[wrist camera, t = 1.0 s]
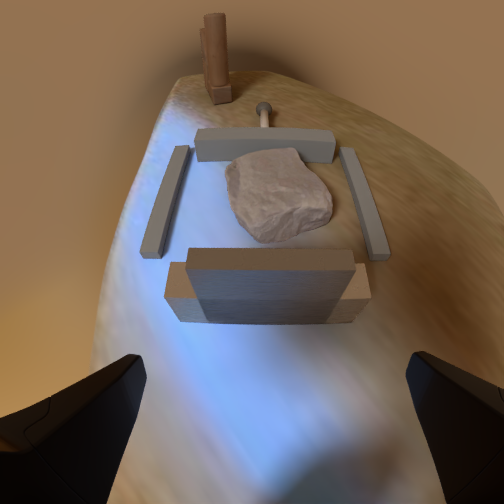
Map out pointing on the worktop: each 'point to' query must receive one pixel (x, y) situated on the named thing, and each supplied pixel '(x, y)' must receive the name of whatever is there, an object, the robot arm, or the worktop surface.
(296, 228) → the stone block
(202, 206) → the worktop surface
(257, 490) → the worktop surface
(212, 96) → the wooden block
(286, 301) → the bar
